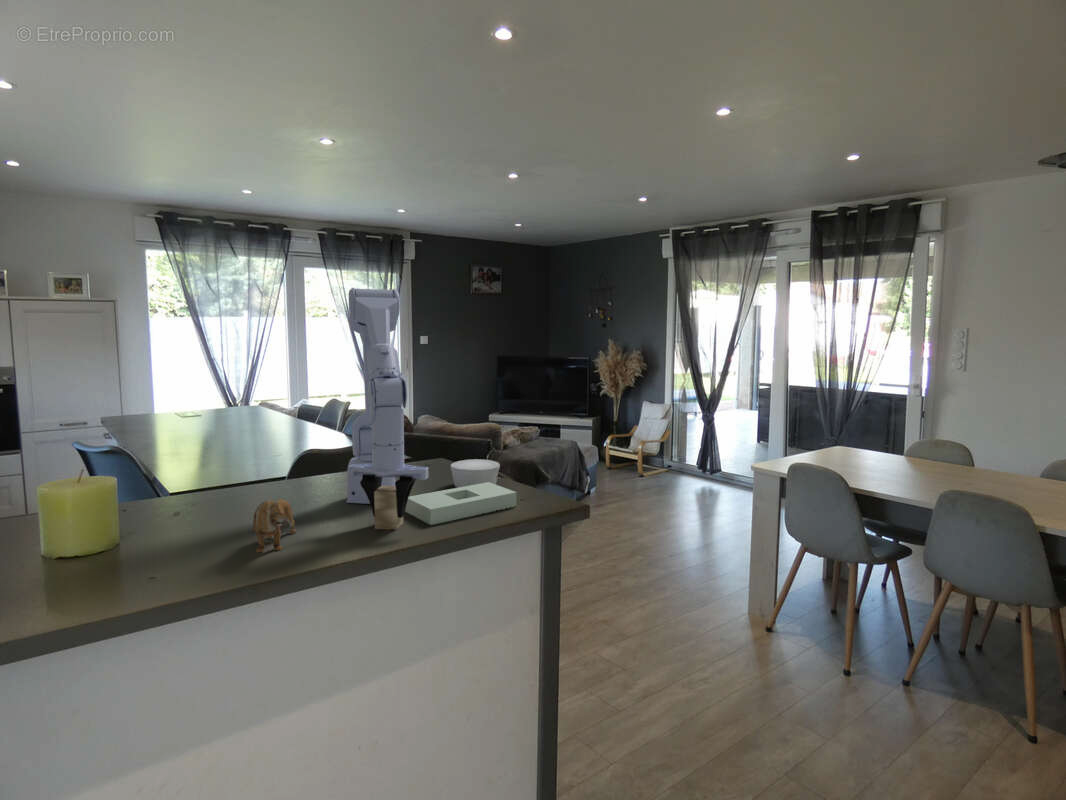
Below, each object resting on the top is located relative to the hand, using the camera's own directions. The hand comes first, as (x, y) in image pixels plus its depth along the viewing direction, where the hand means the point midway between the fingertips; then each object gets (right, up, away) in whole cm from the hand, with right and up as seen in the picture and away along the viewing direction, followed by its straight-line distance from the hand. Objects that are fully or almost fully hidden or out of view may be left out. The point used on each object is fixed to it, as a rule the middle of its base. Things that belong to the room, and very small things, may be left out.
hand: (389, 515), depth 115 cm
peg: (0, -2, 0) cm, 2 cm away
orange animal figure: (-16, -3, -10) cm, 20 cm away
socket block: (+12, -1, +11) cm, 16 cm away
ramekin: (+13, +1, +29) cm, 32 cm away
